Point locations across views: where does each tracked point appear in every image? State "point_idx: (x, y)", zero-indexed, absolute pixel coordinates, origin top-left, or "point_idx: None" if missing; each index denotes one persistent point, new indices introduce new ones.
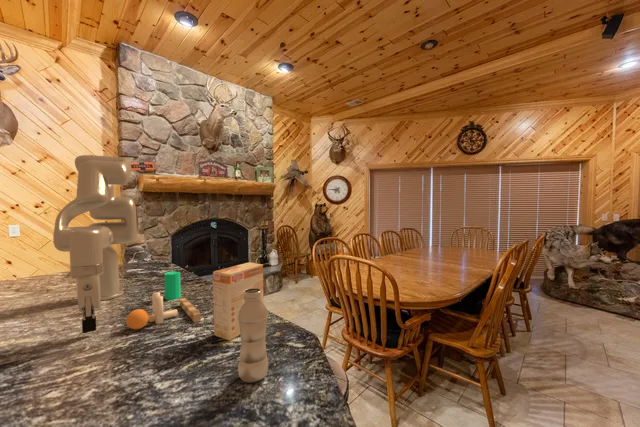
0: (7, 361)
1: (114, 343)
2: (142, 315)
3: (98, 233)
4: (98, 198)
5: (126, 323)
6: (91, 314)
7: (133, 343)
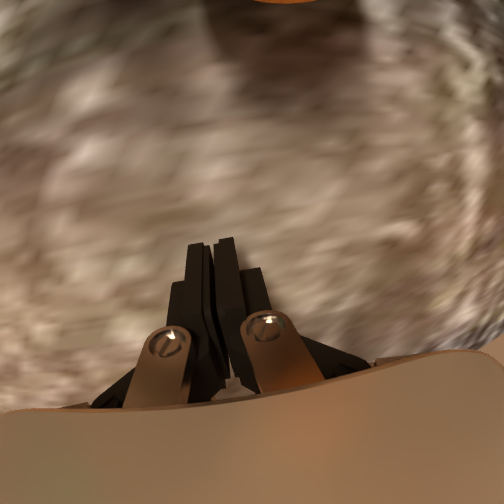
0: None
1: (436, 104)
2: None
3: None
4: None
5: (294, 2)
6: (367, 367)
7: (478, 31)
